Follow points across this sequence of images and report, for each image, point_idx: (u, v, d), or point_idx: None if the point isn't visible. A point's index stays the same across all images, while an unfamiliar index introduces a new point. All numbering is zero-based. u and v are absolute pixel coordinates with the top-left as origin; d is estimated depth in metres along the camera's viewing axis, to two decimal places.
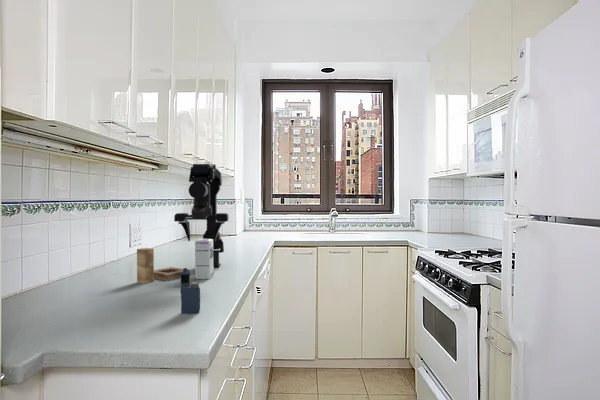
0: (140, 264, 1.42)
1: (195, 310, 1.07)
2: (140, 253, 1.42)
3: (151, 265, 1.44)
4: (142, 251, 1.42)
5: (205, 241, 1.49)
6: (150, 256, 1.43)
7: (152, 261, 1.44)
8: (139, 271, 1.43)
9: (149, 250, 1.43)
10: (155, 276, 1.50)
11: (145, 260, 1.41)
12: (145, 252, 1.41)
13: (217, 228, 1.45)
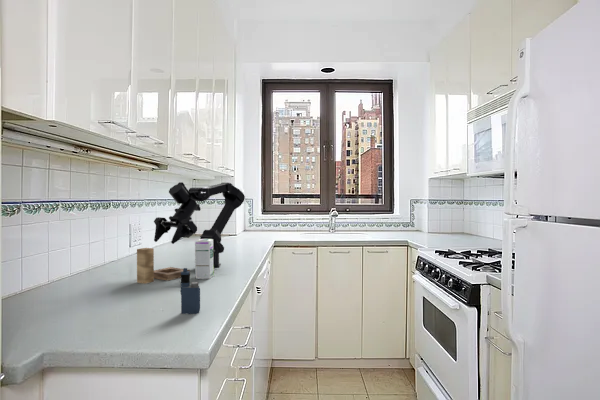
0: (140, 264, 1.42)
1: (195, 310, 1.07)
2: (140, 253, 1.42)
3: (151, 265, 1.44)
4: (142, 251, 1.42)
5: (205, 241, 1.49)
6: (150, 256, 1.43)
7: (152, 261, 1.44)
8: (139, 271, 1.43)
9: (149, 250, 1.43)
10: (155, 276, 1.50)
11: (145, 260, 1.41)
12: (145, 252, 1.41)
13: None
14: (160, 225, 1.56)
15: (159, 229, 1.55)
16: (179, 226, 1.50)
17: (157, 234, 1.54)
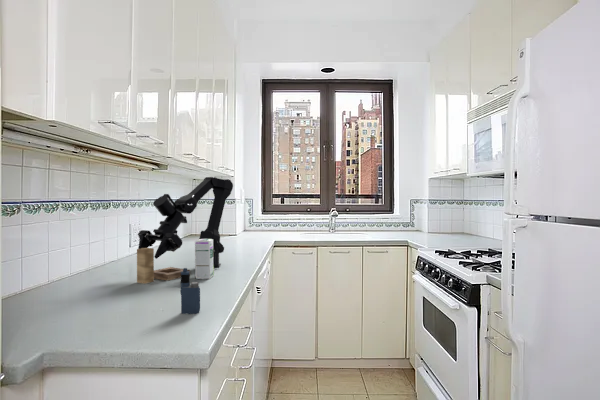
0: (140, 264, 1.42)
1: (195, 310, 1.07)
2: (140, 253, 1.42)
3: (151, 265, 1.44)
4: (142, 251, 1.42)
5: (205, 241, 1.49)
6: (150, 256, 1.43)
7: (152, 261, 1.44)
8: (139, 271, 1.43)
9: (149, 250, 1.43)
10: (155, 276, 1.50)
11: (145, 259, 1.41)
12: (145, 252, 1.41)
13: None
14: (144, 238, 1.49)
15: (143, 243, 1.49)
16: (163, 240, 1.43)
17: (140, 248, 1.48)
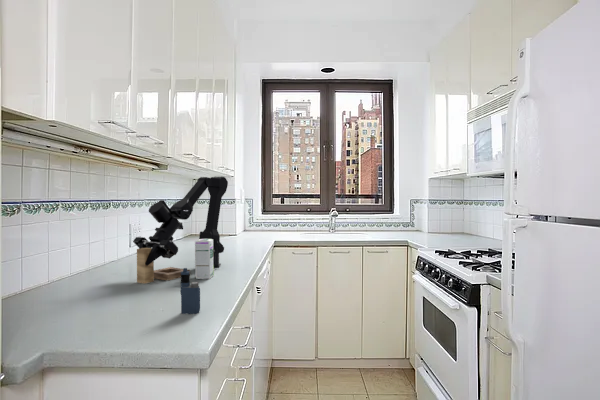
0: (140, 264, 1.42)
1: (195, 310, 1.07)
2: (140, 253, 1.42)
3: (151, 265, 1.44)
4: (142, 251, 1.42)
5: (205, 241, 1.49)
6: None
7: None
8: (139, 271, 1.43)
9: (149, 250, 1.43)
10: (155, 276, 1.50)
11: (145, 259, 1.41)
12: (145, 252, 1.41)
13: None
14: (144, 246, 1.46)
15: None
16: (153, 247, 1.43)
17: None
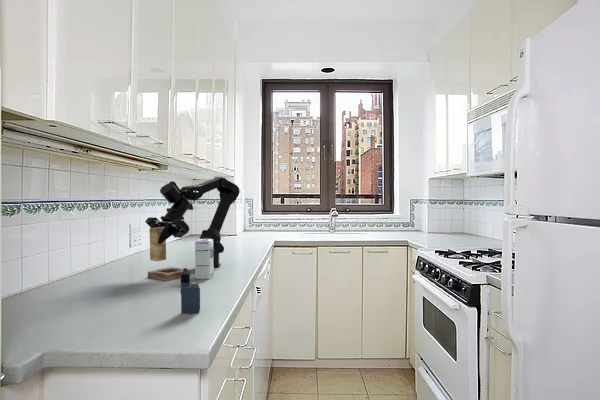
0: (152, 242, 1.47)
1: (195, 310, 1.07)
2: (153, 232, 1.47)
3: (163, 244, 1.49)
4: (155, 230, 1.46)
5: (205, 241, 1.49)
6: None
7: None
8: (152, 249, 1.47)
9: (161, 229, 1.48)
10: (155, 276, 1.50)
11: (157, 238, 1.46)
12: (157, 231, 1.46)
13: None
14: (156, 226, 1.51)
15: None
16: (166, 226, 1.48)
17: None
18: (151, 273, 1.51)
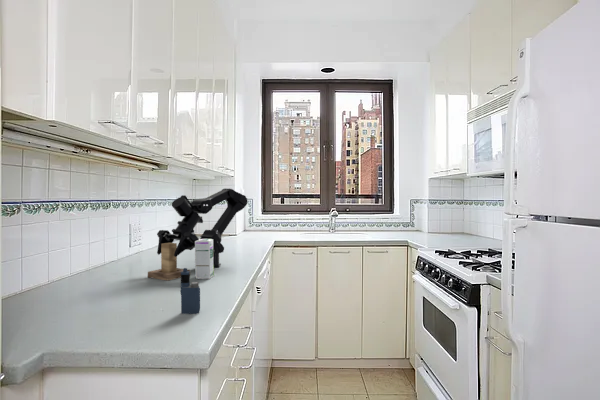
0: (164, 257, 1.52)
1: (195, 310, 1.07)
2: (164, 248, 1.52)
3: (174, 259, 1.54)
4: (166, 245, 1.51)
5: (205, 241, 1.49)
6: (174, 250, 1.53)
7: None
8: (163, 264, 1.52)
9: (173, 245, 1.53)
10: (155, 276, 1.50)
11: (169, 253, 1.51)
12: (169, 247, 1.51)
13: None
14: (163, 238, 1.57)
15: (162, 242, 1.57)
16: (181, 239, 1.51)
17: (160, 247, 1.56)
18: (151, 273, 1.51)
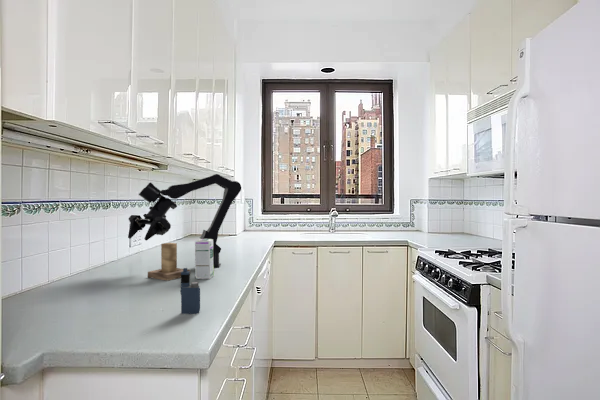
0: (164, 257, 1.52)
1: (195, 310, 1.07)
2: (164, 248, 1.52)
3: (174, 259, 1.54)
4: (166, 246, 1.51)
5: (205, 241, 1.49)
6: (174, 250, 1.53)
7: (175, 255, 1.54)
8: (163, 264, 1.52)
9: (173, 245, 1.53)
10: (155, 276, 1.50)
11: (169, 253, 1.51)
12: (169, 247, 1.51)
13: None
14: (134, 222, 1.60)
15: (133, 226, 1.59)
16: (152, 224, 1.54)
17: (131, 231, 1.58)
18: (151, 273, 1.51)
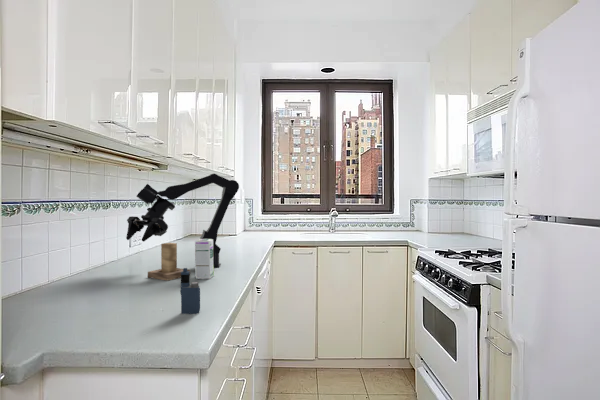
0: (164, 257, 1.52)
1: (195, 310, 1.07)
2: (164, 248, 1.52)
3: (174, 259, 1.54)
4: (166, 246, 1.51)
5: (205, 241, 1.49)
6: (174, 250, 1.53)
7: (175, 255, 1.54)
8: (163, 264, 1.52)
9: (173, 245, 1.53)
10: (155, 276, 1.50)
11: (169, 253, 1.51)
12: (169, 247, 1.51)
13: None
14: (132, 224, 1.61)
15: (131, 227, 1.60)
16: (149, 225, 1.55)
17: (129, 232, 1.59)
18: (151, 273, 1.51)
